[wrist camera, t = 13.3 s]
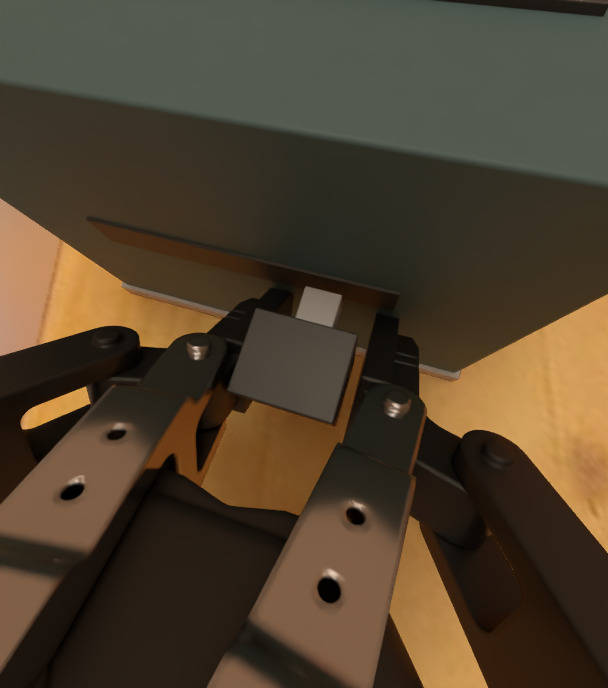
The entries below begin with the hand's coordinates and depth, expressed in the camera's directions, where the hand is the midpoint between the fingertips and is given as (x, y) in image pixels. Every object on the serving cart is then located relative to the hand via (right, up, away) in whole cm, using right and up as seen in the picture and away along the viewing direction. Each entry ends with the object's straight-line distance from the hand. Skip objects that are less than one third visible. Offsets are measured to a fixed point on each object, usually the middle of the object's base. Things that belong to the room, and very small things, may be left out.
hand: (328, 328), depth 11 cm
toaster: (0, +5, +6) cm, 8 cm away
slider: (0, -1, -1) cm, 1 cm away
